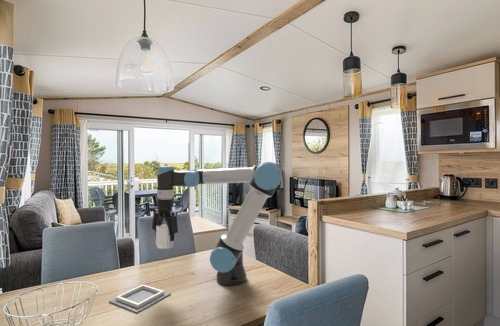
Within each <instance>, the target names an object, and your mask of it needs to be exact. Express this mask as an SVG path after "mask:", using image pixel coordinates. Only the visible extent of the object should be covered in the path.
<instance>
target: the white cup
mask: <svg viewBox="0 0 500 326" xmlns="http://www.w3.org/2000/svg"><path fill="white" fill-rule="evenodd" d="M168 234H169V230H168V226H167V223H162V225H161V226H158V225H157V226H156V237H157V245H156V248H158V249H160V250H161V249H162V250H163V249H164V250H165V249H169V248H168Z"/></svg>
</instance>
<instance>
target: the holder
mask: <svg viewBox="0 0 500 326" xmlns="http://www.w3.org/2000/svg"><path fill="white" fill-rule="evenodd" d="M171 295H172V293H171V292H167V291H165V290H162V289H159V288H156V287H153V286H149V285H146V284H141V285H139V286H136V287H134V288H132V289H130V290H128V291H125V292H124V293H121V294H120V295H117V296H116V297H114V298H112V299H109V301H108V303H109V304H112V305H115V306H116V307H119V308H122V309H125V310H127V311H130V312H131V313H135V314H139V313H140V312H142V311H144V310H146V309H148V308H149V307H151V306H153V305H154V304H156V303H158V302H160V301H162V300H164V299H165V298H167V297H170V296H171Z"/></svg>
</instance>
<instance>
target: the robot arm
mask: <svg viewBox="0 0 500 326" xmlns="http://www.w3.org/2000/svg"><path fill="white" fill-rule="evenodd" d="M156 177H157V179H156V180H157V181H156V182H157V183H156V185H157V188H156V189H157V190H156V191H157V192H156V207H157V208H154V209H153V211H152V212H153V215H152V216H153V217H152V226H151V229H152V230H154V236H155V246H157V237H156V226H157V225H158V226H161V225H162V224H163V221H164V220H165V222H166V224H167V226H168V230H169V234H168V248H167V249H171V248H174V241H175V234H177V233H178V232H179V228H178V218H177V217H178V211H173V206H174V193H175V192H174V191H175V190H174V188H175V187H185V188H186V187H187V188H195V187H198V185H211V184H213V185H216V184H241V183H242V184H243V183H249V187H250V188H249V189H250V190H249V192H248V193H247V195H246V197H245V199H244V201H243V202H242V204H241V206H240V208H239V210H238V211H237V214H236V215H235V217H234V219H233V221H232V223H231V225H230V227H229V228H228V231H227V232H226V233H222V234H220V235H219V238H218V242H217V243H216V246H215V247H214V249H213V250H211V253H210V255H209V262H210V266H211V267H212V269H214V270H215V271H217V273H216V282H217V283H218V284H220V285H221V286H222V285H223V286H230V287H231V286H238V285H241V284H244V283H245V282H246V281H247V273H246V270H245V267H244V264H243V263H244V261H243V260H244V256H243V255H244V253H243V252H244V249H245V247H244V242H245V240H246V238H247V236H248V235H249V232H250V231H251V229H252V227H253V225H254V223H256V222H255V221H256V220H257V218H258V216H259V214H260V212H261V210H262V208H263V206H264V205H265V203H266V201H267V200H268V198H271V197H273V196H274V194H275V192H276V191H277V188H278V186H279V185H280V184H281V181H282V178H283V171H282V168H281V167H280V165H279V164H277V163H275V162H271V161H265V162H262V163H261V164H254V165H253V166H252V167H251V166H250V167H248V166H247V167H230V168H228V167H227V168H206V169H190V170H176V169H175V168H174V166H173V165H159V166H158V167H157V175H156Z"/></svg>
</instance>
